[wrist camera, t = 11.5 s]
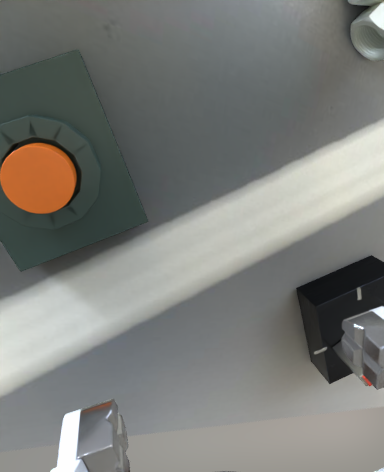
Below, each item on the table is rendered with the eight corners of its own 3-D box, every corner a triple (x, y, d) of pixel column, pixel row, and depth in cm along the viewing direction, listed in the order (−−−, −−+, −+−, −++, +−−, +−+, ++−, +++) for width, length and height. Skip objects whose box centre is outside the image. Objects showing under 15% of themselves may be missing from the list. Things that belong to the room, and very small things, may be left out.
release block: (145, 213, 27) (151, 230, 23) (26, 259, 26) (14, 284, 22) (80, 53, 22) (76, 44, 18) (-71, 103, 21) (-107, 103, 17)
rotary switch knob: (386, 303, 33) (423, 330, 29) (392, 314, 34) (429, 341, 30) (331, 347, 33) (361, 379, 29) (339, 356, 34) (368, 388, 30)
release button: (87, 192, 22) (86, 199, 20) (28, 214, 21) (22, 223, 20) (58, 133, 20) (55, 135, 18) (-6, 155, 20) (-16, 160, 18)
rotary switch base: (385, 327, 40) (410, 348, 36) (302, 365, 39) (321, 390, 35) (380, 250, 35) (409, 265, 32) (286, 291, 34) (306, 311, 30)
